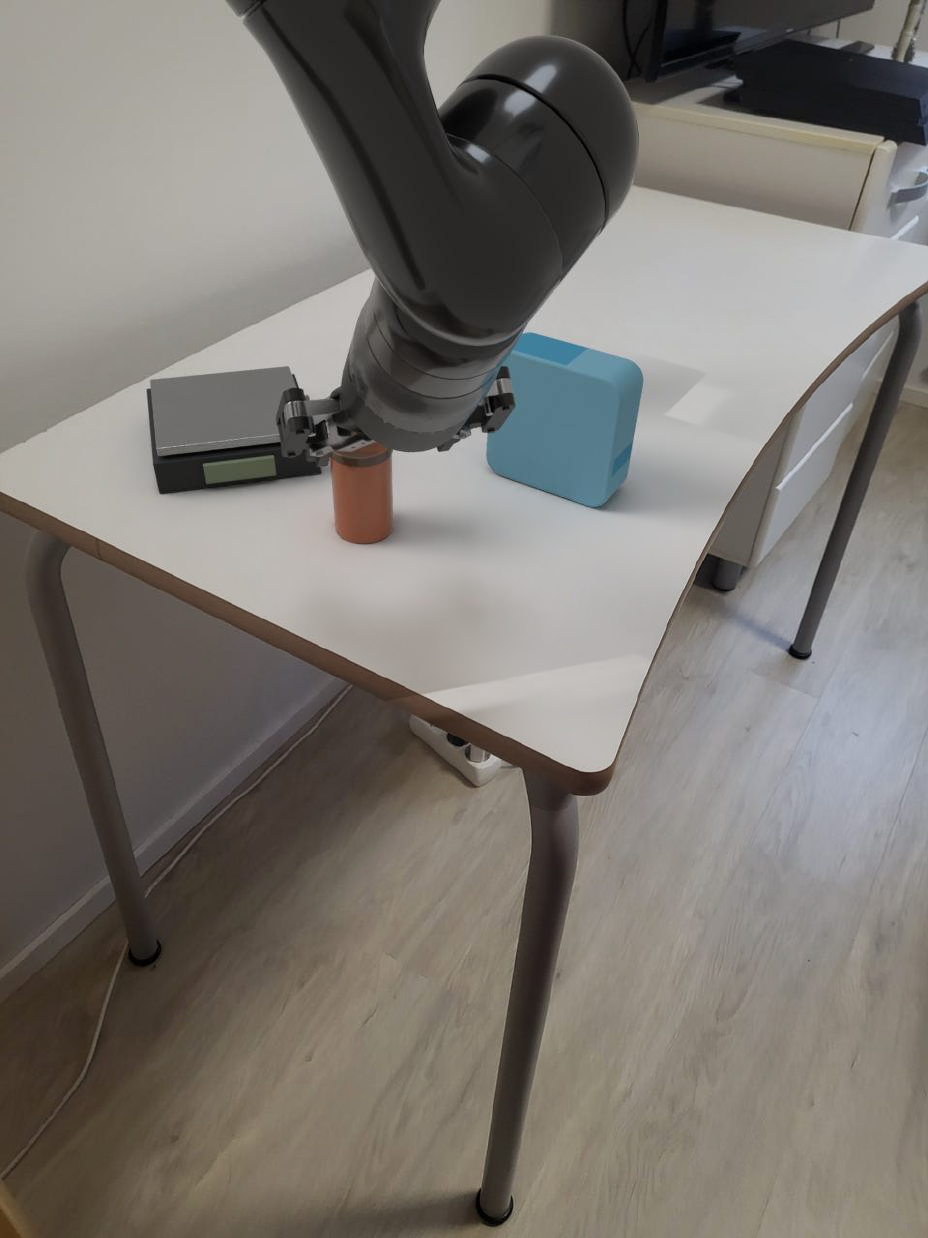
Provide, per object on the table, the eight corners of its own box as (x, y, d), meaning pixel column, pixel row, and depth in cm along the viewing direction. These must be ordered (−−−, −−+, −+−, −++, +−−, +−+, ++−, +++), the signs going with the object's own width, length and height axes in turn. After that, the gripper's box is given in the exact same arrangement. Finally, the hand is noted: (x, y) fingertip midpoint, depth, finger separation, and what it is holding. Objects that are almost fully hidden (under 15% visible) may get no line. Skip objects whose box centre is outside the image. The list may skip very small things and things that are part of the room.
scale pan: (158, 456, 79) (156, 448, 78) (151, 387, 88) (149, 379, 88) (312, 438, 82) (311, 430, 81) (289, 373, 91) (289, 365, 91)
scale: (159, 497, 80) (153, 466, 78) (152, 416, 90) (146, 388, 88) (322, 476, 83) (320, 446, 81) (296, 401, 94) (294, 373, 92)
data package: (626, 489, 83) (647, 363, 75) (604, 513, 80) (624, 384, 72) (508, 450, 88) (517, 326, 80) (484, 471, 85) (490, 345, 77)
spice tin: (340, 548, 75) (334, 462, 70) (329, 514, 79) (322, 429, 74) (400, 539, 76) (399, 454, 71) (387, 506, 80) (384, 422, 75)
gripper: (535, 281, 51) (468, 381, 67) (272, 303, 48) (267, 403, 63) (561, 415, 51) (487, 484, 66) (297, 446, 47) (286, 511, 63)
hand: (380, 445), depth 65 cm, fingers open, 8 cm apart
